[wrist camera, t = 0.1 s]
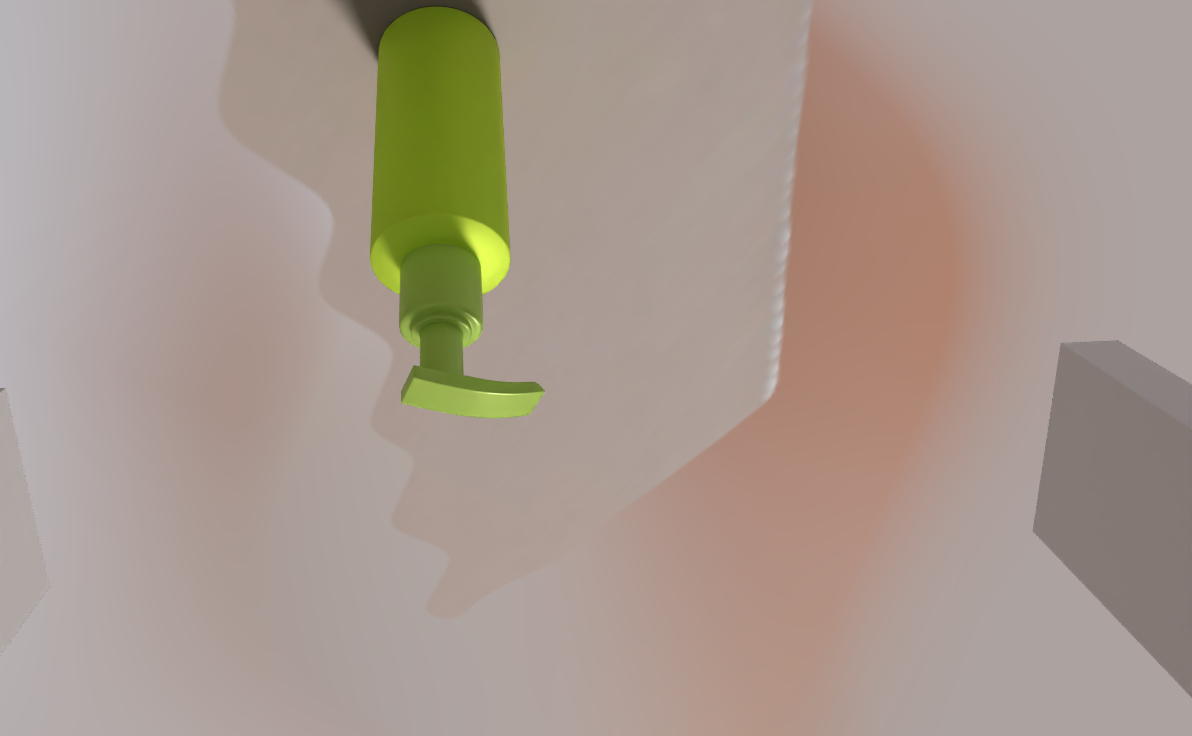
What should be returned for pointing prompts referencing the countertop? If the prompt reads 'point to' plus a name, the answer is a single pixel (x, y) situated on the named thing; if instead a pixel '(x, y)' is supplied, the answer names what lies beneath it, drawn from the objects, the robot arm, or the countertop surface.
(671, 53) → the countertop surface
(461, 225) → the soap dispenser
